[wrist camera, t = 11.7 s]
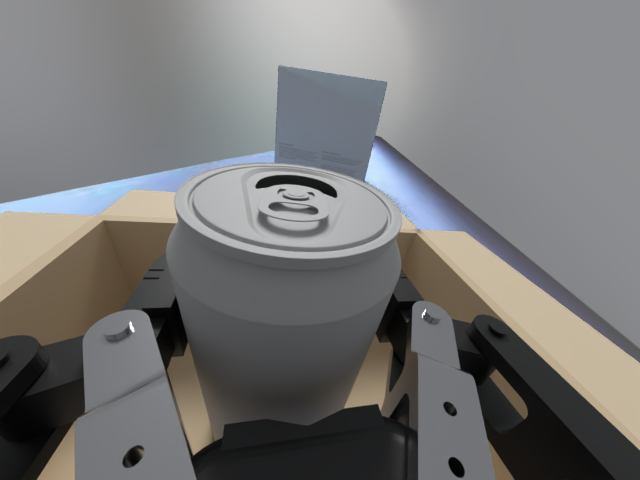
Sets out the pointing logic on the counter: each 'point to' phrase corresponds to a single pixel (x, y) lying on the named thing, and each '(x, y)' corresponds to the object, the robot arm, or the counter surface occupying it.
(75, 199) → the counter surface
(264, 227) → the beverage can
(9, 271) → the carton
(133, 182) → the counter surface
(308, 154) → the supplement box
